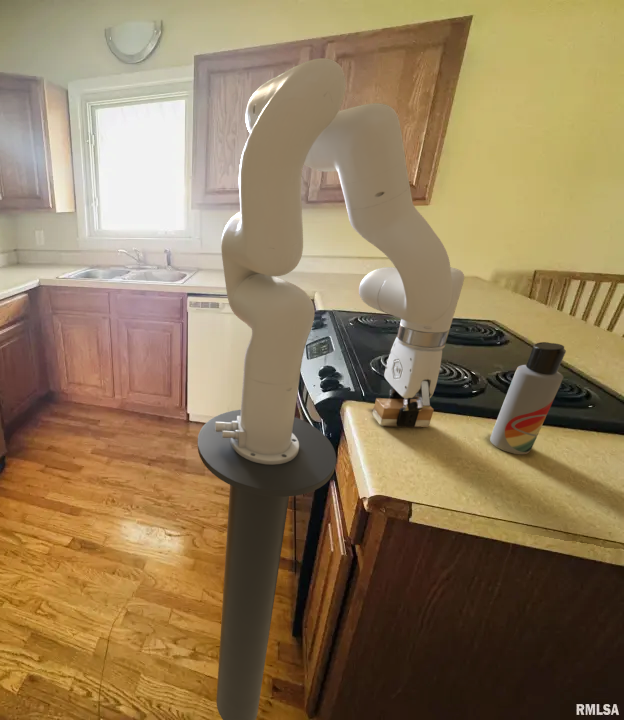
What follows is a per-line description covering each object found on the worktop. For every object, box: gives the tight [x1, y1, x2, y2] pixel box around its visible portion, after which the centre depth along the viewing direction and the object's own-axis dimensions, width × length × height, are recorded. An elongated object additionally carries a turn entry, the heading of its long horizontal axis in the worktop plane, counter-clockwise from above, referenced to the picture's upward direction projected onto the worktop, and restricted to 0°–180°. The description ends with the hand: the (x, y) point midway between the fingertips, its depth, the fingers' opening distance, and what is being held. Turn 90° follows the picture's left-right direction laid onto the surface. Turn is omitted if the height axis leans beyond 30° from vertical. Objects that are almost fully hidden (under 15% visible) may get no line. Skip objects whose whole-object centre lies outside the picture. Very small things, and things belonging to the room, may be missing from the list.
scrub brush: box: [372, 397, 435, 428], centre depth 79 cm, size 9×4×4 cm, turn 83°
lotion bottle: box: [489, 341, 567, 455], centre depth 68 cm, size 6×6×20 cm
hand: (399, 418), depth 80 cm, fingers closed on scrub brush, 4 cm apart
